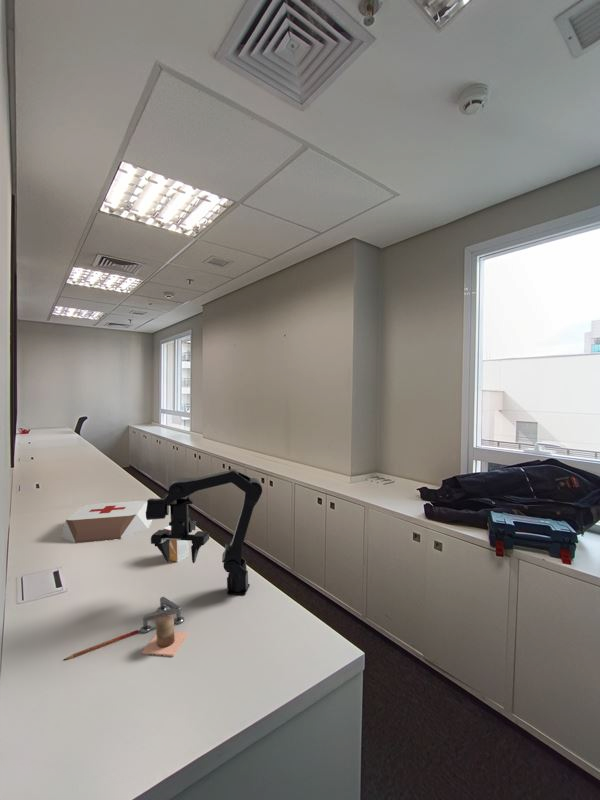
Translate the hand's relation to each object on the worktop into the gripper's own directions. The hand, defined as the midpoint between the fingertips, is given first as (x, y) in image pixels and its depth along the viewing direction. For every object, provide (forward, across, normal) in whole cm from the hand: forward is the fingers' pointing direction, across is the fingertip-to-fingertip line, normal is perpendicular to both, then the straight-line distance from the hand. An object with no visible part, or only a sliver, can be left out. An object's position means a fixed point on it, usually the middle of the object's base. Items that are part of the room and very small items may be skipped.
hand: (181, 562), depth 128 cm
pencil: (+13, +11, +26) cm, 31 cm away
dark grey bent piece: (+12, -1, +13) cm, 18 cm away
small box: (+12, +16, -28) cm, 35 cm away
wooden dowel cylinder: (+12, -6, +23) cm, 26 cm away
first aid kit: (+13, +67, -57) cm, 89 cm away
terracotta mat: (+12, -6, +23) cm, 27 cm away
